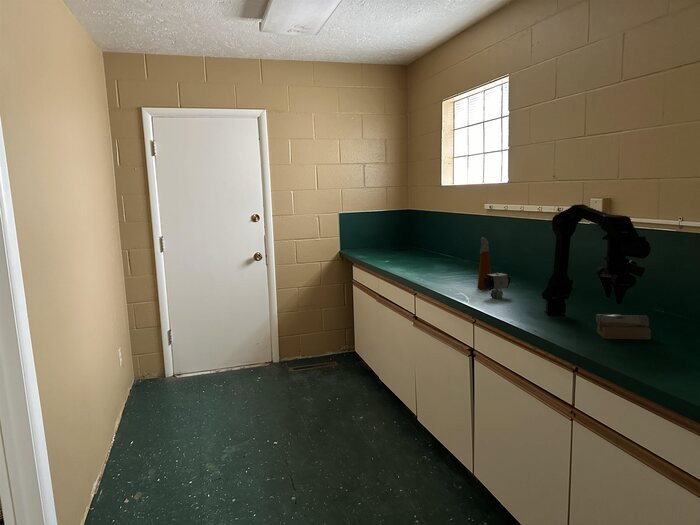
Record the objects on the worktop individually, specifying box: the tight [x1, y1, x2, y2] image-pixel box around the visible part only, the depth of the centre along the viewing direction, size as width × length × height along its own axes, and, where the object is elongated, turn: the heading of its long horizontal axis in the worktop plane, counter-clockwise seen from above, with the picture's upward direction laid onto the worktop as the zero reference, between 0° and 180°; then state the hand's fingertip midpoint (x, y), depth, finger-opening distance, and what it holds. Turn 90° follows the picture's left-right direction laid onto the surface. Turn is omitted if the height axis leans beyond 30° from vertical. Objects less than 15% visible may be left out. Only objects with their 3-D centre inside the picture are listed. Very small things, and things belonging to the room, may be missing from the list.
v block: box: [596, 323, 652, 340], centre depth 160 cm, size 14×7×4 cm, turn 81°
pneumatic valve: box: [484, 271, 512, 300], centre depth 218 cm, size 6×12×12 cm, turn 111°
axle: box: [599, 314, 650, 327], centre depth 160 cm, size 14×4×4 cm, turn 81°
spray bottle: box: [476, 236, 492, 290], centre depth 238 cm, size 7×11×26 cm, turn 146°
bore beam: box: [595, 313, 621, 324], centre depth 172 cm, size 8×10×3 cm
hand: (613, 300), depth 160 cm, fingers open, 9 cm apart
